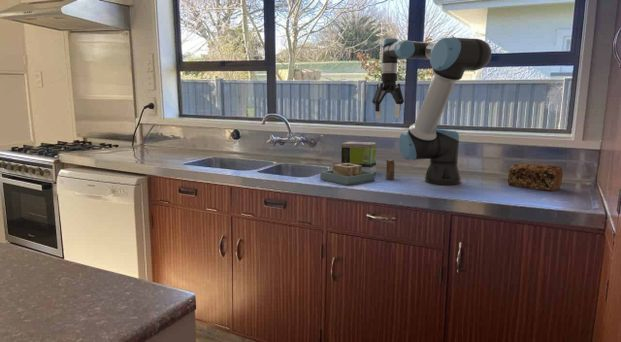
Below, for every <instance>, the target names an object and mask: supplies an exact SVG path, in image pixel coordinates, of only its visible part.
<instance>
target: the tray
mask: <svg viewBox="0 0 621 342" xmlns="http://www.w3.org/2000/svg"><path fill="white" fill-rule="evenodd" d="M375 174H376V172H374V173H371V172H366V171H362V175H357V176H351V177H346V176H341V175H336V174H333V169H332V170H331V169H330V170H322V171H320V180H322V181H326V182H329V183H334V184H338V183H339V185H344V186H347V187H348V186H353V185H359V184H365V183H371V182H375Z"/></svg>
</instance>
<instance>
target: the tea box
mask: <svg viewBox="0 0 621 342" xmlns="http://www.w3.org/2000/svg"><path fill="white" fill-rule="evenodd" d="M340 145H341V147H340V148H341V151H340V152H341V156H340V160H341V162H340V164H344V163H351V164H356V165H362V171H366V172H371V173H376V170H377V169H376V168H377V167H376V166H377V142H368V141H367V142H365V141H364V142H363V141H362V142H361V141H346V142H342V143H341V144H340Z"/></svg>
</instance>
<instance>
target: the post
mask: <svg viewBox="0 0 621 342" xmlns="http://www.w3.org/2000/svg"><path fill="white" fill-rule="evenodd" d="M385 172H386V175H385V178H386V180H389V181H390V180H394V179H395V159H386V171H385Z"/></svg>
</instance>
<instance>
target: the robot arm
mask: <svg viewBox="0 0 621 342" xmlns="http://www.w3.org/2000/svg"><path fill="white" fill-rule="evenodd" d="M399 59H403V60H404V59H407V60H410V59H411V60H413V59H414V60H427V61H429V63H430V66H431V71H432V72H433V75H432V78H431V81H430V83H429V87H428V88H427V92H426V94H425V96H424V100H423V101H422V104H421V107H420V110H419V111H418V115H417V117H416V120H415V123H412V124H411V125H410V126H409V128H408V130H407V132H406V131H405V132H403V133H401V134H400V135H399V138H398V148H399V152H400V154H401V156H402V157H403V158H404V159H405V160H408V161H410V160H411V161H412V160H413V161H416V160H429V164H428V167H427V169H426V173H425V175H424V181H425V182H426V183H430V184H433V185H442V186H443V185H445V186H446V185H447V186H448V185H449V186H451V185H458V184H460V183H461V180H462V179H461V174H460V169H459V166H458V157H459V143H460V137H459V132H458V131H455V130H450V129H448V130H447V129H442V128H441V129H440V128H437V126H438V124H439V122H440V120H441V117H442V115H443V112H444V109H445V107H446V106H447V103H448V100H449V98H450V96H451V94H452V91H453V89H454V86H455V84H456V82H457V81H460V80H461V79H462V78H463V76H464V74H465V71H466V72H467V71H468V72H469V71H471V72H472V71H473V72H474V71H479V70H482V69H483V68H485V67H486V66H487V65H488V64H489V63H490V61H491V59H492V48H491V46H490V45H489V44H488V43H487V41H485V40H483V39H479V38H469V37H466V38H465V37H456V36H450V37H443V38H441V39H439V40H437V41H436V42H434V41H432V42H431V41H412V40H408V39H406V40H404V39H403V40H400V41H399V39H398V38H396V37H393V38H392V37H390V38H384V39H382V44H381V75H380V82H378V83H377V85H376V87H377V88H376V90H375V93H374V95H373V98H372V101H371V102H372V104H373V105H375V107H374V108H375V109H374V110H375V119H379V120H380V119H382V102H383V101H384V98H385V97H386V95H387V94H391V96H392V98H393V100H394V102H395V104H394V118H396V119H400V118H401V117H400V116H401V107H402V105H403V103H405V100H404V97H403V92H402V89H401V83H396V82H397V81H398V72H399V69H398V67H399Z"/></svg>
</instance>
